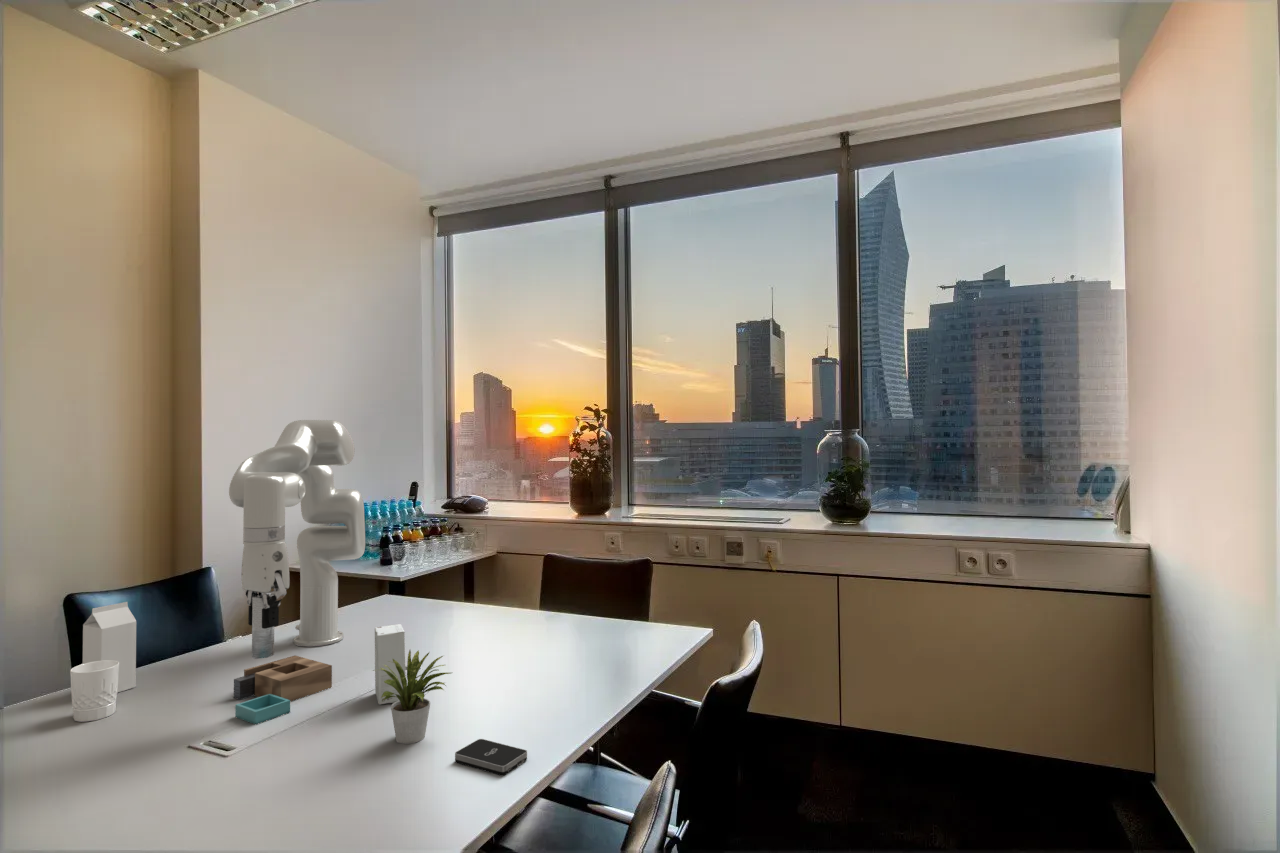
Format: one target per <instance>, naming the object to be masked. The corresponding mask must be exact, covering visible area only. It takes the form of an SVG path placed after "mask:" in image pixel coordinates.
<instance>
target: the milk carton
mask: <svg viewBox="0 0 1280 853" xmlns="http://www.w3.org/2000/svg"><path fill="white" fill-rule="evenodd" d="M128 603H129V602H128V601H124V602H120V603H114V604H109V605H104V606H99V607H94V608H91V614H90V616H88V618H87V619H86V621H85V622H84V623H83V624H82V664H85V663H89V662H95V661H103V660H115V661H118V662H119V676H118V689H117V693H120V692H124V691H127V690H130V689H134V688H135V687H136V686H137V684H136V683H137V682H136V681H137V677H136V675H137V672H136V671H137V620H136V618H135V616H134V615H133V613H132V612H131V610H130V608H129V606H128Z"/></svg>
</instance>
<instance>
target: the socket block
mask: <svg viewBox="0 0 1280 853" xmlns="http://www.w3.org/2000/svg"><path fill="white" fill-rule="evenodd" d="M253 673H255V695H254V697H256V696H257V697H256V698H258V697H261V696H264V695H267V694H273V695H276V696H279V697H282V698H285V699H288V700H290V701H291V702H294V701H297V700H299V698H300V699H302V697H303V698H305V696H306V697H308V696H307V695H309V696H312V695H315V694H317V693H320V692H322V690H323V691H326V690H329V689H331V687H332V688H333V685H332V684H333V681H332V680H333V665H332V664H328V663H324V662H321V661H317V660H314V659H310V658H307V657H302V656H299V655H292V656H288V657H285V658H281V659H278V660H274V661H271V662H270V661H269V662H267V663H262V664H259V665H256V666H253V667H249V668H248V667H247V668H245V669H244V670H243V676H246V675H250V674H253ZM328 688H329V689H328ZM325 689H326V690H325ZM319 691H320V692H319ZM316 692H317V693H316ZM296 699H297V700H296ZM293 700H294V701H293Z"/></svg>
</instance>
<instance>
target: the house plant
mask: <svg viewBox="0 0 1280 853" xmlns="http://www.w3.org/2000/svg"><path fill="white" fill-rule="evenodd" d="M429 654H430V652H428V653H426V654H425V655H423V657H422V659H421V660H420V659H419V656H420V650H419V649H417V651H416V652H415V653H414V654H413V657H411V656H412V652H411V649H409V651H408V654H407V661H406V662H407V664H406V665H407V666H406V667H407V668H406V677H405V674H404V671H403V669H402V667H401V666H400V664H399V663H398V662H397V661H395V660H394V659H393V663H395V666H396V669H397V670H398V672H399V675H400V679H401V683H402V686H403V689H402V687H401V684H400V682H399V680H398V678H397V676H396V675H395V673H394V672H393V671H392V670H391V669H390V668H389V667H388V666H386V665H384V666H386V667H388V668H389V669H390V671H391V672H392V673H393V674H394V675H395V676H394V675H393V674H392V673H390V672H389V671H387V670H385V669H383V668H381V669H382V670H383V671H385V672H386V673H387V674H388V675H389V676H390V677H391V678H392V679H393V680H391V679H388V680H385V681H384V682H385V683H386V684H388V685H390V686H392V687H394V688H395V689H396V690H397V692H398V693H399V695H398V694H395V695H396V696H397V698H398V699H399V701H397V702H394V703H392V704H391V706H390V710H391V715H392V717H391V718H392V723H393V729H394V736H395V740H396V742H397V743H399V744H402V745H403V744H404V745H407V744H408V745H409V744H415V743H418V742H420V741H422V740H424V739H425V737H426V732H427V726H428V718H429V713H430V708H431V701H430V700H429V699H428V698H425V693H429V692H431V691H436V690H442V691H444V692H446V691H445V689H444V688H443V687H442V686H440V685H443V686H445V687H447V685H446V683H445V682H441V681H434V682H431V683H429V682H430V681H432V680H433V679H435V678H438V677H440V676H443V675H449V674H450V675H451V674H452V672H438V669H435V668H438V667H443V666H445V664H440V665H435V664H436V662H438V661H439V660H440V659H441V658H442V657H444V655H441V656H439V657H436V659H434V660H433V661H432V662H430V664H429V665H428V666H427V667H426V668H425V669H424V671H423V672H422V674H420V675H418V673H419V672H420V669H421V667H422V665H423V663H424V661H425V660H426V659H427V657H428V656H429ZM388 662H390V661H388ZM432 669H433V670H432ZM372 671H374V672H375V669H373V670H372ZM435 671H437V673H433V672H435ZM431 673H433V674H431ZM429 674H430V675H429ZM396 678H397V679H396ZM417 678H419V679H417ZM432 685H433V686H432ZM438 685H439V686H438ZM431 686H432V687H431ZM390 695H394V693H392V692H389V691H385V692H384V693H383V695H382V697H385V698H384V699H383V700H385V699H388V698H391V697H396V696H390ZM382 697H381V698H382ZM383 700H382V701H383Z"/></svg>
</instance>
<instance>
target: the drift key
mask: <svg viewBox="0 0 1280 853" xmlns="http://www.w3.org/2000/svg"><path fill="white" fill-rule="evenodd" d="M253 696H255V673H253V674H250V675H246V676H244V675H243V676H239V677H236V678H233V698H234V699H236V700H239V701H240V700H244V699H246V698H250V697H253ZM243 698H244V699H243Z"/></svg>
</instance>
